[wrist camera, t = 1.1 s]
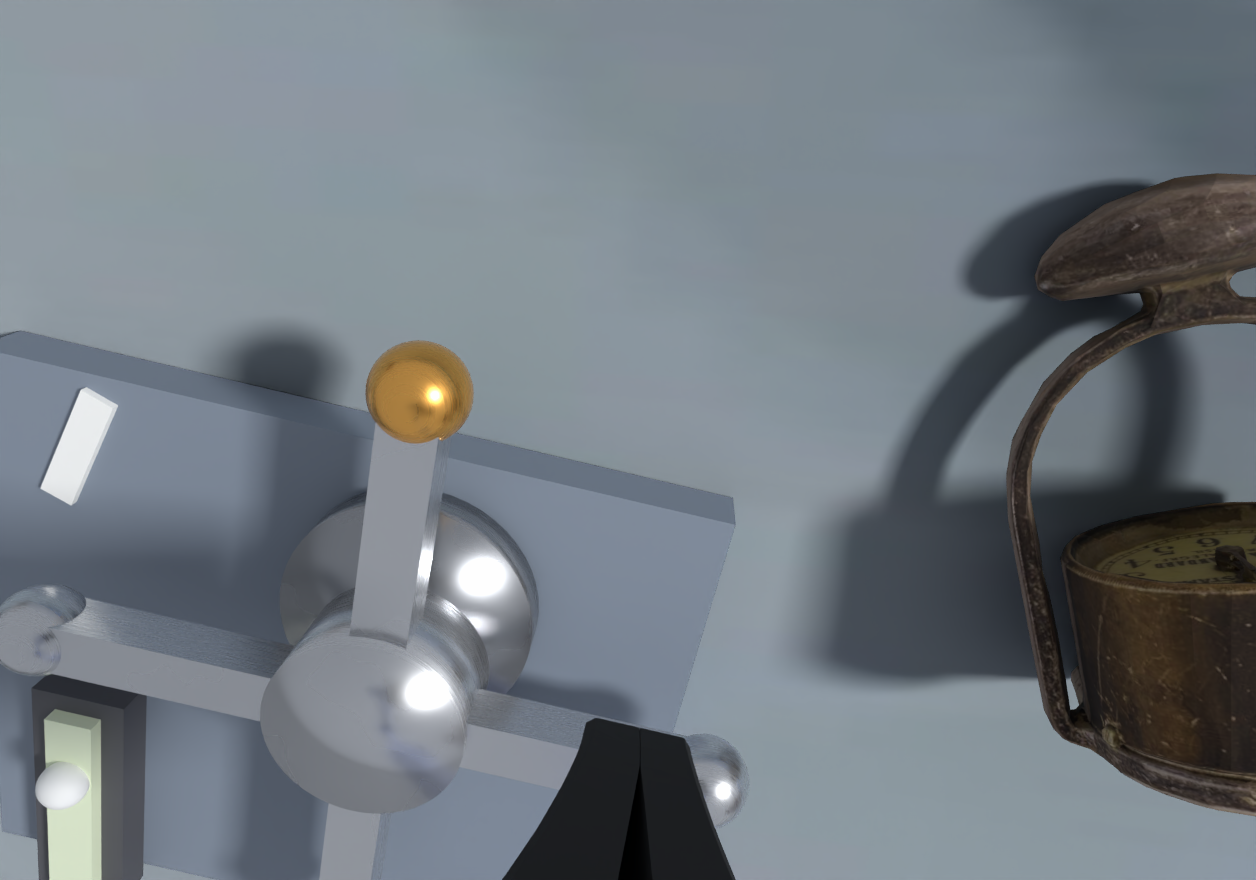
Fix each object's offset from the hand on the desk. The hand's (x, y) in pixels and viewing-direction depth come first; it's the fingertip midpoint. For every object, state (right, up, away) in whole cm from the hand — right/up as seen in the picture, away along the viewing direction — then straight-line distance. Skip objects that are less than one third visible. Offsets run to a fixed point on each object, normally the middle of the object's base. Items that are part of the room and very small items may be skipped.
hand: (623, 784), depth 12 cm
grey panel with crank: (-8, -1, +12) cm, 15 cm away
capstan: (-5, 0, +10) cm, 11 cm away
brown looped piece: (+13, +4, +9) cm, 16 cm away
